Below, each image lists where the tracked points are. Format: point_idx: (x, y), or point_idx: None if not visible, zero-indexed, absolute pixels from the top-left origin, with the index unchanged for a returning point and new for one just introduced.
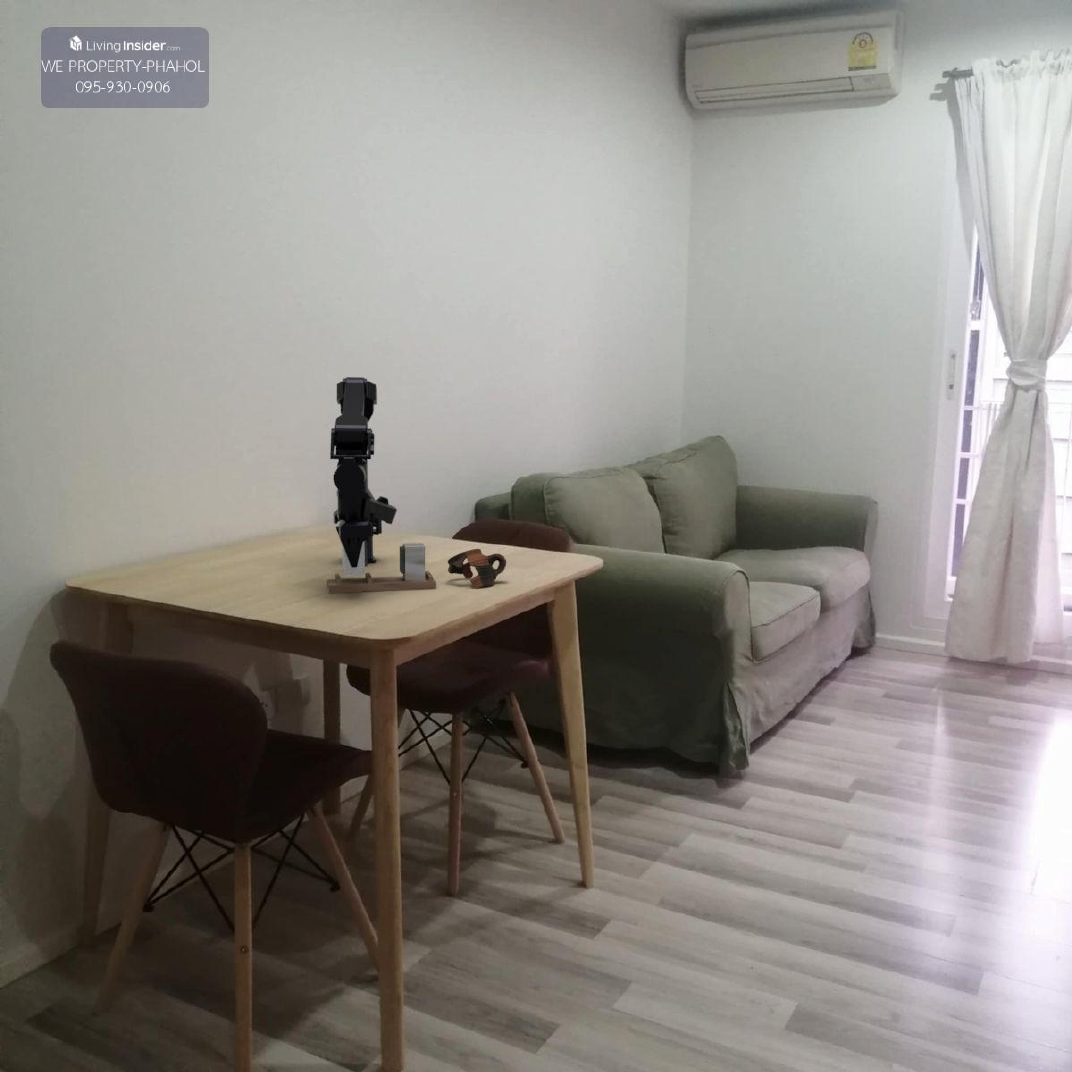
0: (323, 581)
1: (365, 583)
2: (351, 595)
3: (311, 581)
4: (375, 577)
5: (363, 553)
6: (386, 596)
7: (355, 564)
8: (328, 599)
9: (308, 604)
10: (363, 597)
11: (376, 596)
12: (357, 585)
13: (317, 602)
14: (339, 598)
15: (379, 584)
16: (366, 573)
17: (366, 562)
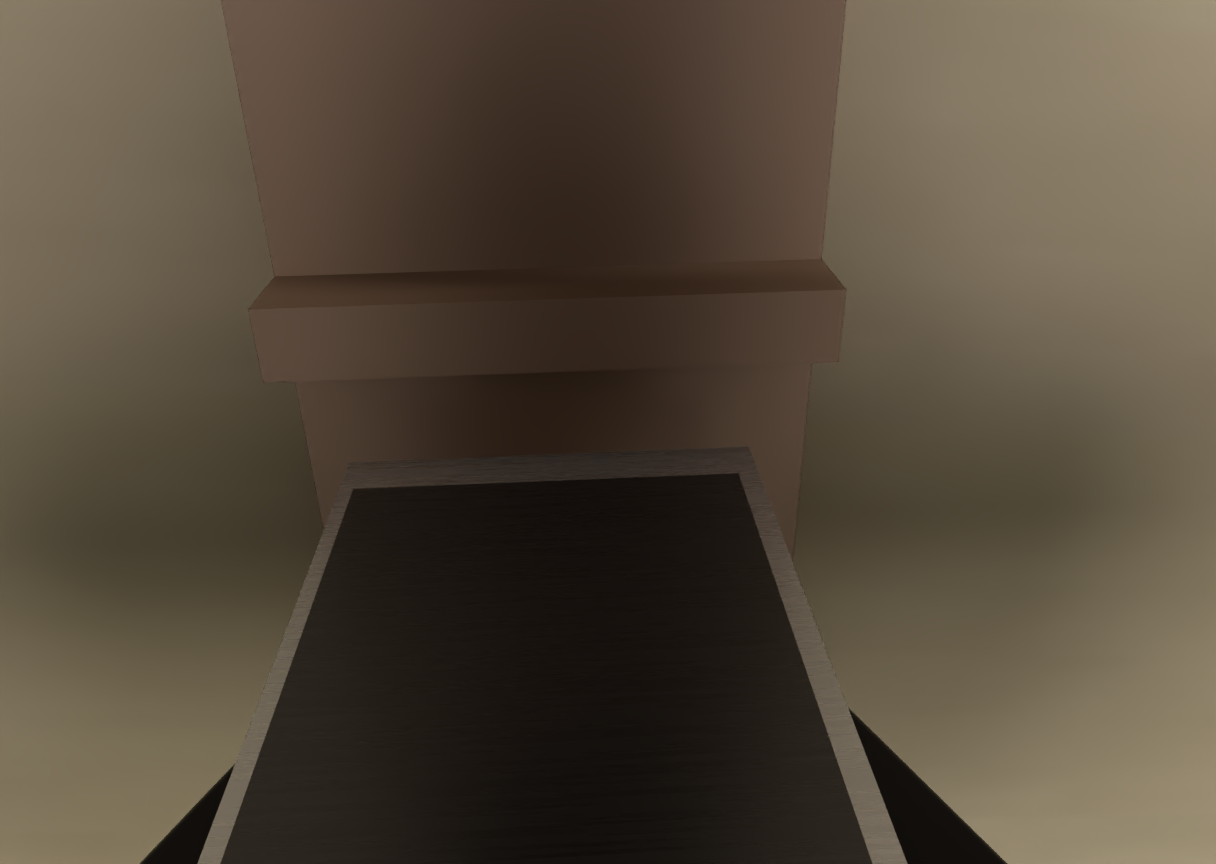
0: (89, 763)
1: (752, 367)
2: (935, 502)
3: (101, 860)
4: (270, 161)
5: (875, 804)
6: (1197, 24)
7: None
8: (1038, 719)
9: (1165, 857)
10: (1107, 369)
11: (1126, 187)
12: (800, 476)
13: (1123, 800)
14: (1038, 625)
15: (833, 129)
16: (325, 363)
17: (754, 549)
